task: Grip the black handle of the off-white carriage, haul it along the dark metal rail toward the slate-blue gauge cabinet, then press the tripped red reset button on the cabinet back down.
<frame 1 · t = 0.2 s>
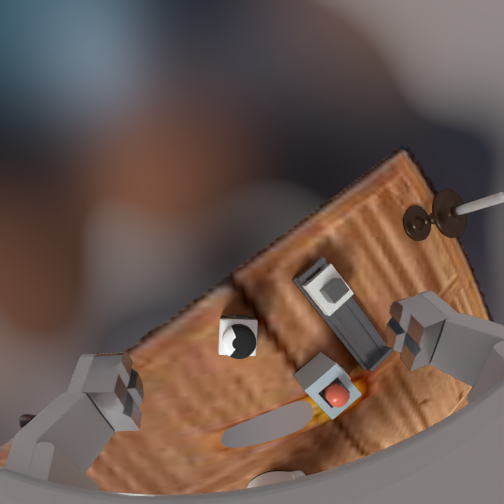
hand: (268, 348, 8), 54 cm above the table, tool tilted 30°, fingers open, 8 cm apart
carriage: (331, 290, 57), point 6 cm above the table, slide at 8.0 cm
medicine bottle: (236, 331, 61), on the table
candlestick: (416, 223, 67), on the table
rail: (342, 315, 63), on the table
gauge cabinet: (319, 377, 62), on the table
reset button: (335, 394, 51), point 11 cm above the table, slide at 0.0 cm
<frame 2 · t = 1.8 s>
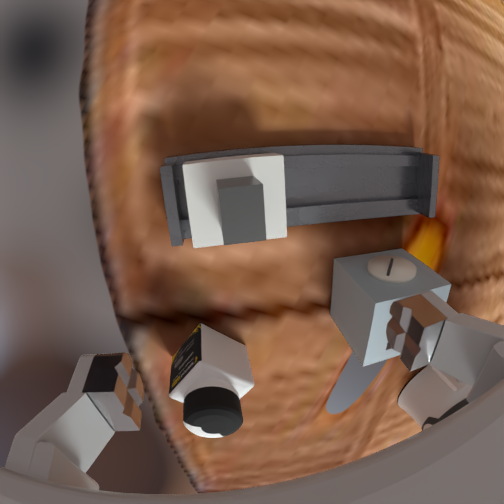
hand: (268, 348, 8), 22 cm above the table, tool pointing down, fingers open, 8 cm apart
carriage: (237, 203, 23), point 6 cm above the table, slide at 8.0 cm
medicine bottle: (208, 350, 36), on the table
rail: (309, 182, 30), on the table
gauge cabinet: (367, 281, 35), on the table
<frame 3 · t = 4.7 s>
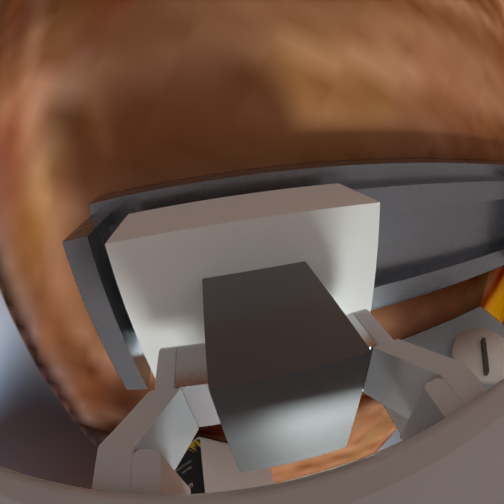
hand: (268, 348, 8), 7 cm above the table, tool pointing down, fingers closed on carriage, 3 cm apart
carriage: (263, 334, 9), point 6 cm above the table, slide at 8.0 cm, touching gripper
medicine bottle: (213, 456, 22), on the table
rail: (382, 231, 15), on the table
gauge cabinet: (434, 356, 21), on the table
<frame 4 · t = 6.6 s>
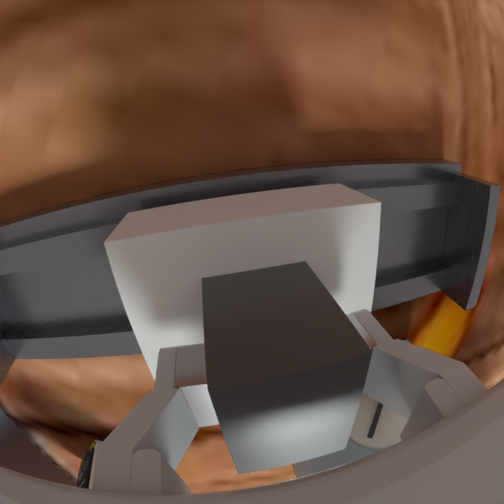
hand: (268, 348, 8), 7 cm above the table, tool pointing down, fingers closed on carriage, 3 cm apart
carriage: (263, 335, 9), point 6 cm above the table, slide at -1.4 cm, touching gripper
medicine bottle: (120, 460, 21), on the table
rail: (210, 259, 14), on the table
gauge cabinet: (343, 392, 20), on the table
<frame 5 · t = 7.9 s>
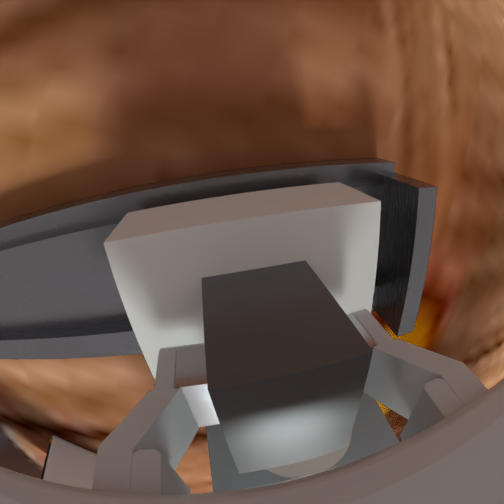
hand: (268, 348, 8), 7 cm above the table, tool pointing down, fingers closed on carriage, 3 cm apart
carriage: (263, 334, 9), point 6 cm above the table, slide at -6.5 cm, touching gripper
medicine bottle: (80, 456, 20), on the table
rail: (111, 274, 13), on the table
gauge cabinet: (280, 408, 20), on the table
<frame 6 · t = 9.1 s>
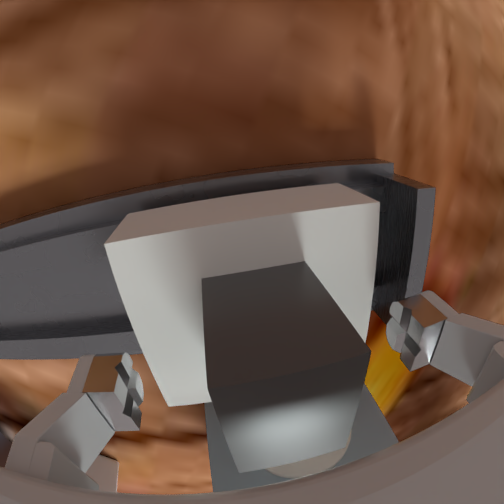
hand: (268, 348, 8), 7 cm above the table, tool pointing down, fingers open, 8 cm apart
carriage: (263, 334, 9), point 6 cm above the table, slide at -6.5 cm
medicine bottle: (80, 457, 21), on the table
rail: (111, 275, 14), on the table
gauge cabinet: (280, 408, 20), on the table
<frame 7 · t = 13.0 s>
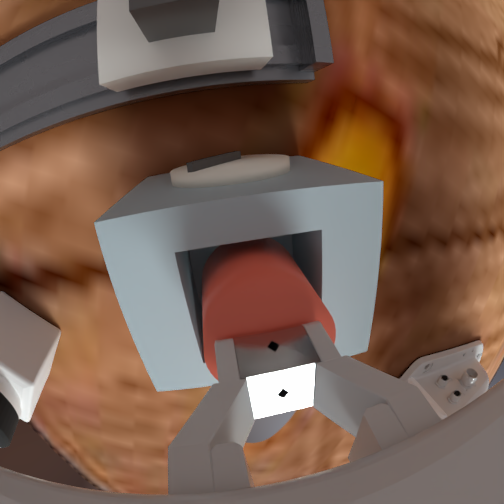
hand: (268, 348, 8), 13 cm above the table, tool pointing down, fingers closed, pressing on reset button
medicine bottle: (26, 332, 21), on the table
rail: (89, 60, 14), on the table
gauge cabinet: (231, 222, 20), on the table
reset button: (259, 309, 10), point 10 cm above the table, slide at 0.4 cm, touching gripper
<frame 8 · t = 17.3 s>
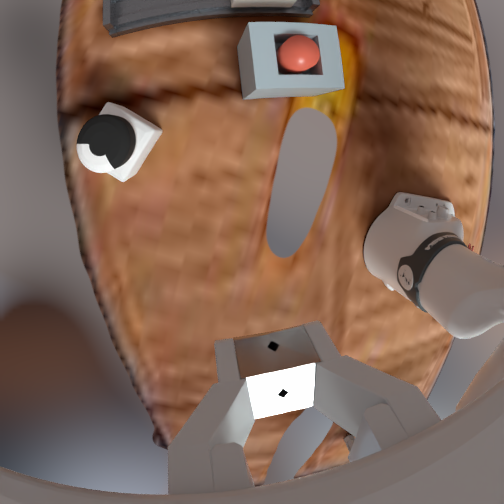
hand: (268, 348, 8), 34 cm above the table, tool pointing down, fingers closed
medicine bottle: (129, 139, 35), on the table
gauge cabinet: (276, 70, 34), on the table
reset button: (295, 56, 27), point 9 cm above the table, slide at 2.0 cm
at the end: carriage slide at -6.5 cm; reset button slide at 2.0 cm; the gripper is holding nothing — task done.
